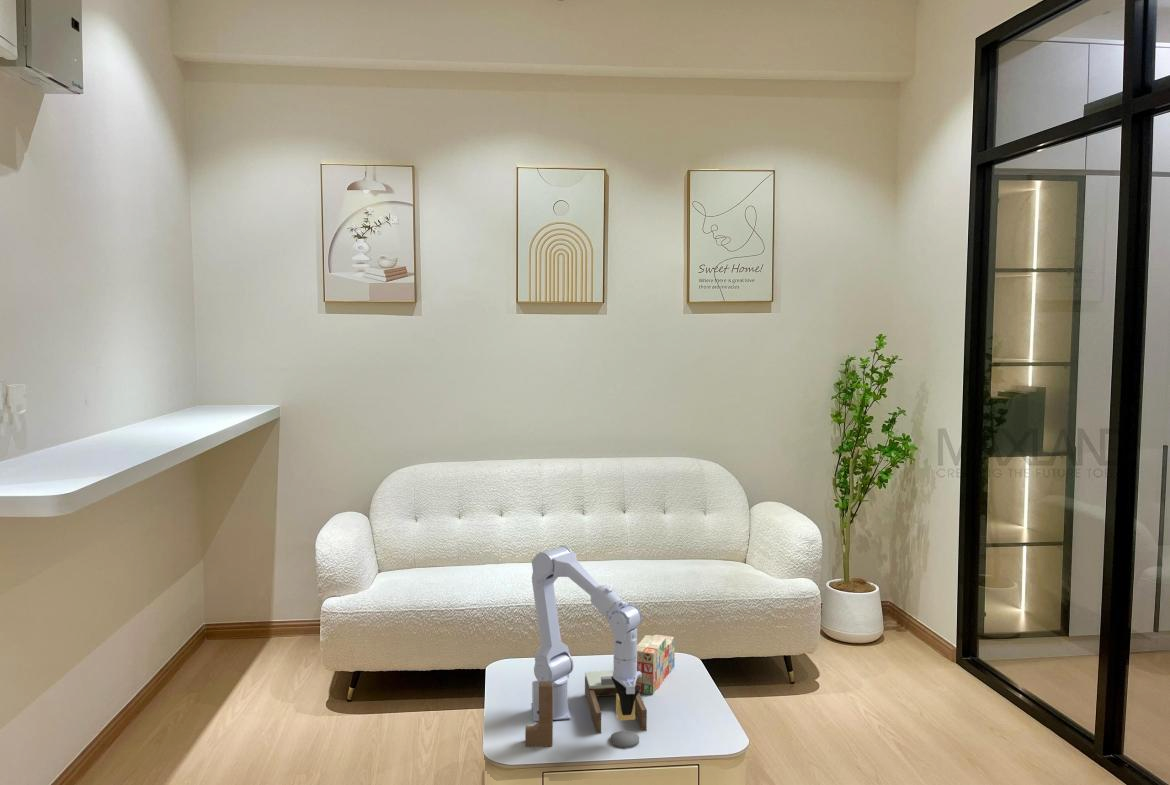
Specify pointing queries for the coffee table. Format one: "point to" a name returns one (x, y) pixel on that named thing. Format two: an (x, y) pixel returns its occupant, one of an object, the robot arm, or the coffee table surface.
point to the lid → (600, 679)
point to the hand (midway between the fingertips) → (625, 710)
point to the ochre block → (619, 711)
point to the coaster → (624, 739)
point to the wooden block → (542, 718)
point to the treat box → (592, 693)
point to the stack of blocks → (654, 661)
